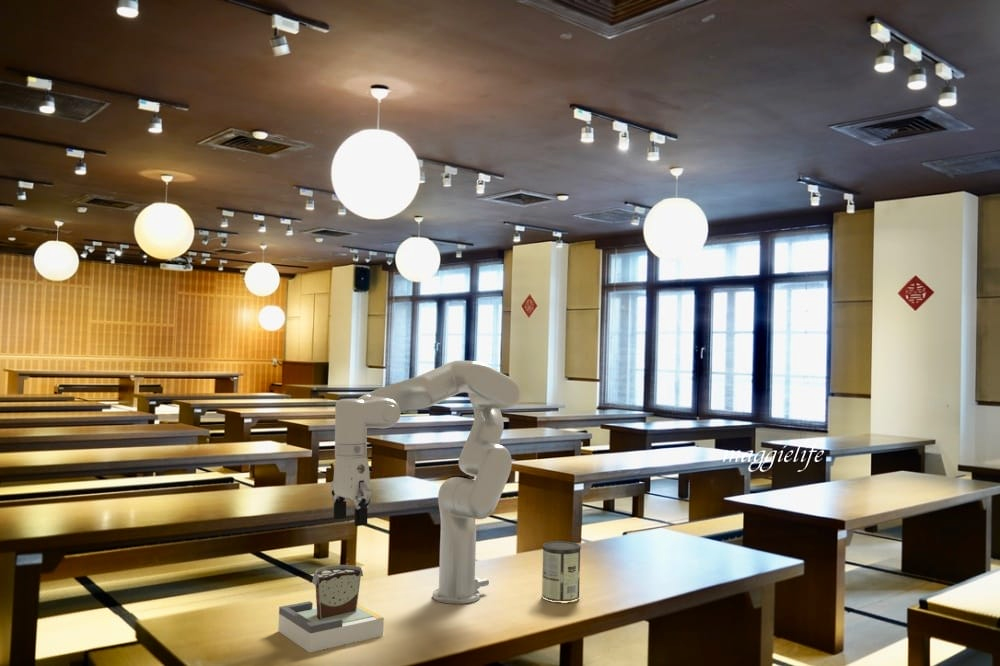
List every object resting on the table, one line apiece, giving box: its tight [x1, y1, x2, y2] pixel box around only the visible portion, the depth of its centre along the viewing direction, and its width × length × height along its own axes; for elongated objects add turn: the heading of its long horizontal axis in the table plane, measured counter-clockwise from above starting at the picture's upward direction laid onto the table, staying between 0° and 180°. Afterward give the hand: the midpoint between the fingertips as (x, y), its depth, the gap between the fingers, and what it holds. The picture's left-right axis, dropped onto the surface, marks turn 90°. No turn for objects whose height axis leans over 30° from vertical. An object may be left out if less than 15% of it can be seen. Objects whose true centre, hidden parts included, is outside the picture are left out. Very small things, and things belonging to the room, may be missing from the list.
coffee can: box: [541, 540, 582, 601], centre depth 209 cm, size 10×10×14 cm
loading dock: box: [277, 600, 385, 654], centre depth 176 cm, size 18×16×6 cm
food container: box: [311, 564, 364, 620], centre depth 178 cm, size 12×6×10 cm, turn 133°
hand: (350, 521), depth 186 cm, fingers open, 9 cm apart
